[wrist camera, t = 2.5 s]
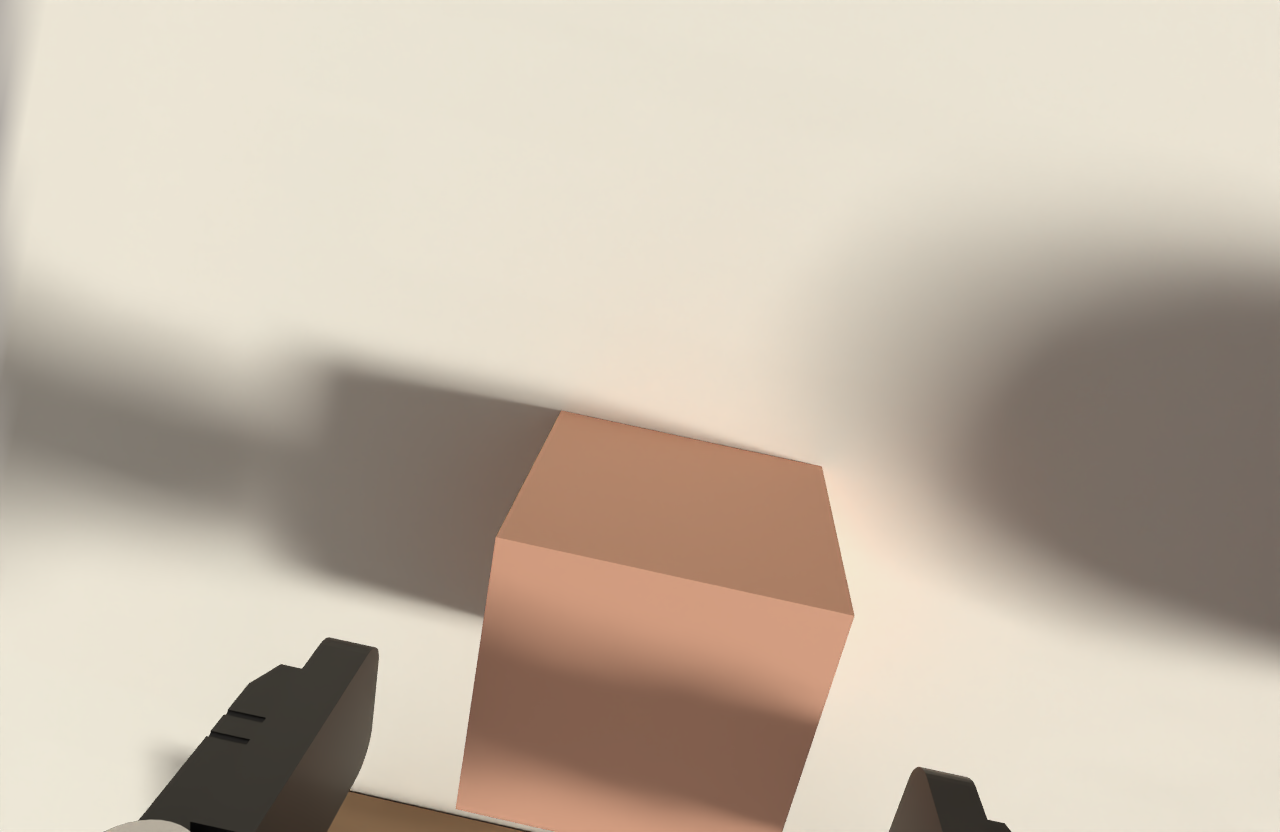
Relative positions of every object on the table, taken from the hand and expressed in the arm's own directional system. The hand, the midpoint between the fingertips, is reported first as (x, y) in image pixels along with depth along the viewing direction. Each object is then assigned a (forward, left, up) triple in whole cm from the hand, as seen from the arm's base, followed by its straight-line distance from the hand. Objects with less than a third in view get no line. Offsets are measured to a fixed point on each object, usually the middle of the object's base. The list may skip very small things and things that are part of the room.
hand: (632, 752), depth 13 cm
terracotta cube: (0, 0, -5) cm, 5 cm away
